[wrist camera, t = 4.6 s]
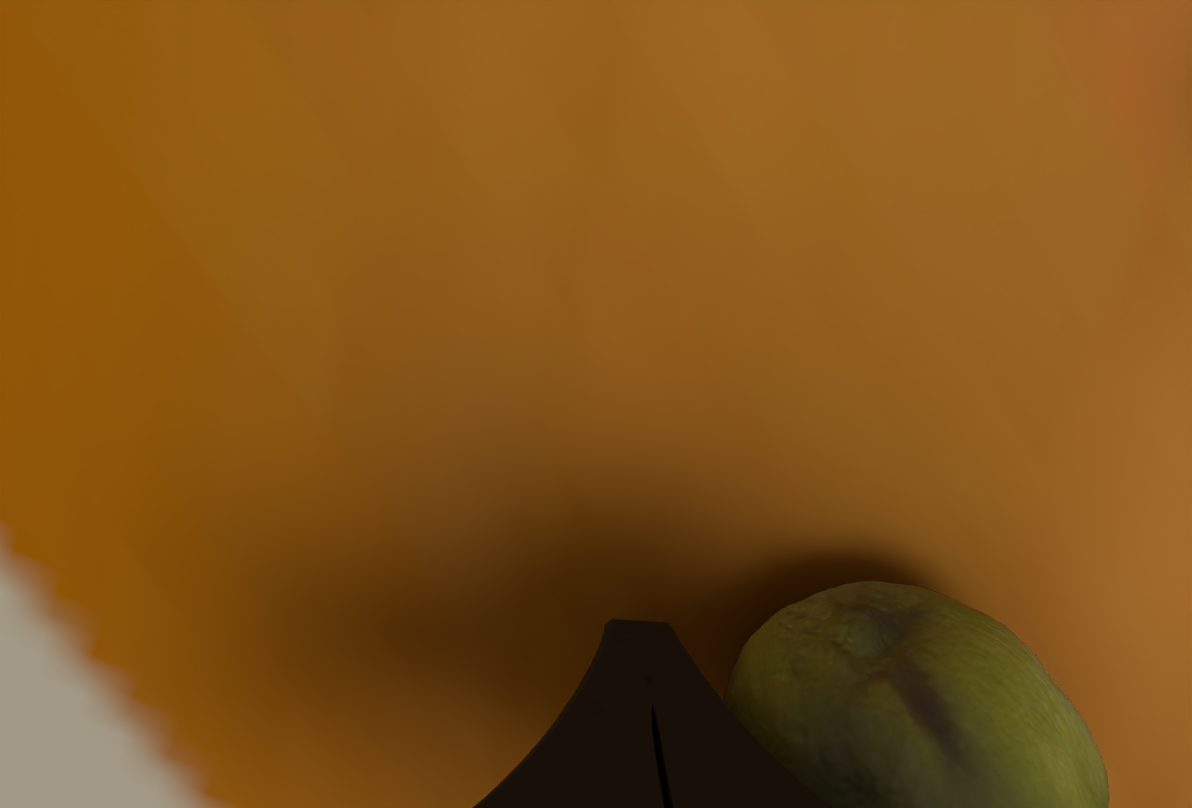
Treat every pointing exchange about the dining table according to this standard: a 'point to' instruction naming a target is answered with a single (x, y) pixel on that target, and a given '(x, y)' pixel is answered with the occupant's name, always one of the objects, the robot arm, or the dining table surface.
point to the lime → (911, 705)
